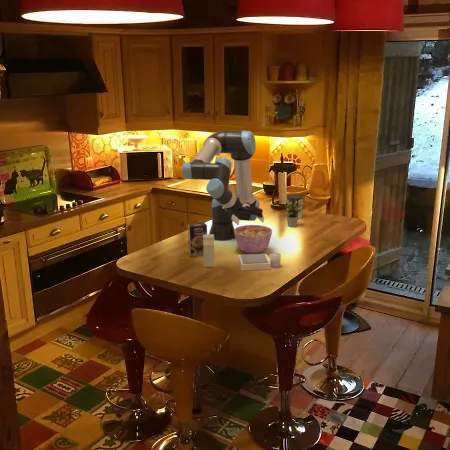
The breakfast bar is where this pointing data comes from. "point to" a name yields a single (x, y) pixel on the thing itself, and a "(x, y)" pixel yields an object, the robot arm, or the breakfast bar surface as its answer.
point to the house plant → (292, 214)
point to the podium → (254, 262)
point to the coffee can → (300, 200)
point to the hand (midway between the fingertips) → (250, 221)
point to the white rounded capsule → (275, 260)
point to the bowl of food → (253, 238)
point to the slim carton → (208, 250)
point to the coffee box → (196, 238)
